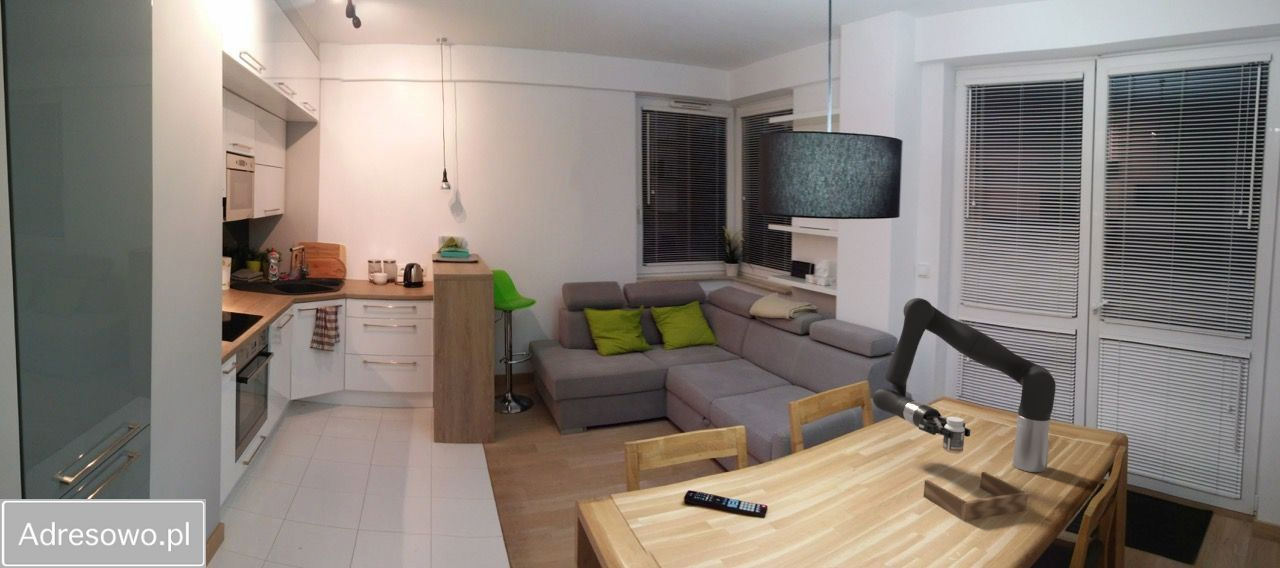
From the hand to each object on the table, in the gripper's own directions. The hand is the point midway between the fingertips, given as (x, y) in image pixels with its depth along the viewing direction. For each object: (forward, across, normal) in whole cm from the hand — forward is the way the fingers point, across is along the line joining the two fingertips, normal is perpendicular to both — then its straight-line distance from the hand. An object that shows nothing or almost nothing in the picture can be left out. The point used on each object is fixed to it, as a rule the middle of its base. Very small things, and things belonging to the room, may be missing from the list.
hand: (960, 434), depth 215 cm
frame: (+8, -1, +18) cm, 19 cm away
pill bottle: (-2, 0, +6) cm, 7 cm away
